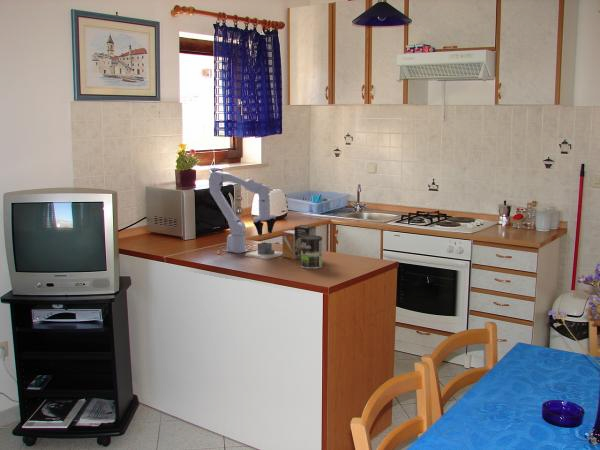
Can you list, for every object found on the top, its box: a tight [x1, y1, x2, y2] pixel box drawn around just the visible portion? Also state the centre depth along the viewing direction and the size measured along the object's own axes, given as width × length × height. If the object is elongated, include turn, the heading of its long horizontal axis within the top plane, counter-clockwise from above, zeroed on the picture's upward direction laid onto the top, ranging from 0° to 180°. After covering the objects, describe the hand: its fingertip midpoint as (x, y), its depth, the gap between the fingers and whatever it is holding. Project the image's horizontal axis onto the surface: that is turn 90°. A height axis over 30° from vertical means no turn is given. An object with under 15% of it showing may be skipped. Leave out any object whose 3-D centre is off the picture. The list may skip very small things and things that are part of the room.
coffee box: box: [294, 224, 317, 260], centre depth 342 cm, size 9×6×16 cm
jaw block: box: [257, 241, 275, 255], centre depth 351 cm, size 8×5×5 cm, turn 50°
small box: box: [281, 229, 297, 260], centre depth 347 cm, size 8×6×13 cm
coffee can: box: [300, 235, 323, 270], centre depth 326 cm, size 10×10×14 cm
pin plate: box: [244, 250, 283, 260], centre depth 352 cm, size 14×14×5 cm
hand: (265, 234), depth 360 cm, fingers open, 7 cm apart
